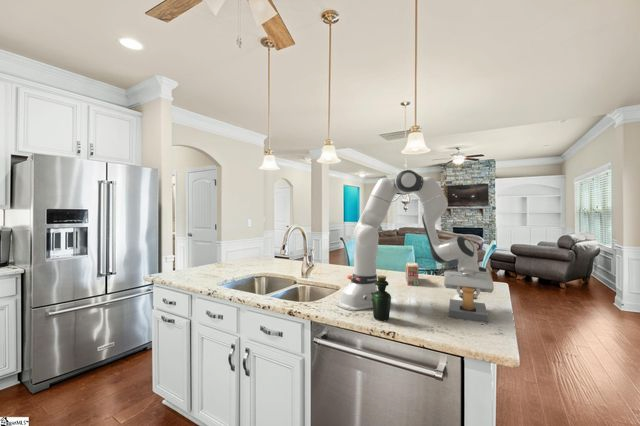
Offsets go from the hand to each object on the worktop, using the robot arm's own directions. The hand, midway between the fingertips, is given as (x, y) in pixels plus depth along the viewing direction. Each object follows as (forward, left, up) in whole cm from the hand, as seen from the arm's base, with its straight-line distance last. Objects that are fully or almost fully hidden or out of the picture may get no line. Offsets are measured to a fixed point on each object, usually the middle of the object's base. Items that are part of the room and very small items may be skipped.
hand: (468, 297), depth 134 cm
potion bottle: (-34, +20, -8) cm, 40 cm away
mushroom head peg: (+1, 0, -5) cm, 5 cm away
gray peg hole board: (+4, +2, -8) cm, 9 cm away
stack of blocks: (+32, +54, -8) cm, 63 cm away
